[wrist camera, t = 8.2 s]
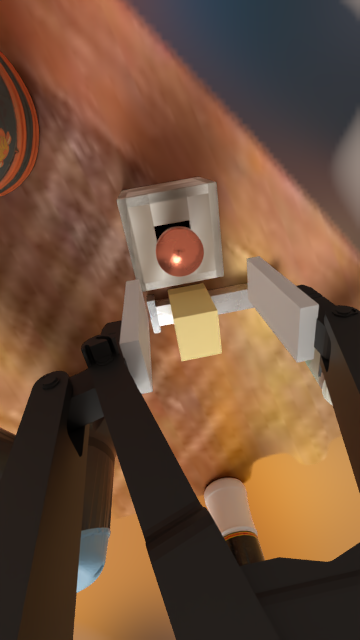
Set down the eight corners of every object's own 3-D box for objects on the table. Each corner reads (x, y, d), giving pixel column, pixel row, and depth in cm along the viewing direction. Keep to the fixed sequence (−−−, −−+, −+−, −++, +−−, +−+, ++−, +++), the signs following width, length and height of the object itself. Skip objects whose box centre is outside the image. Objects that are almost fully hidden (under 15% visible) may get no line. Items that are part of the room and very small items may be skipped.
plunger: (157, 261, 30) (161, 280, 25) (149, 221, 28) (151, 234, 23) (195, 254, 30) (206, 271, 25) (190, 214, 28) (200, 225, 23)
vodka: (241, 497, 67) (306, 709, 41) (202, 502, 67) (243, 723, 41) (245, 472, 63) (320, 693, 37) (203, 478, 62) (249, 708, 36)
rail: (153, 326, 42) (154, 333, 41) (146, 295, 40) (146, 301, 38) (272, 302, 43) (278, 308, 41) (272, 271, 41) (278, 276, 39)
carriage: (174, 326, 43) (181, 361, 35) (167, 289, 40) (173, 318, 32) (207, 319, 43) (221, 353, 35) (203, 282, 40) (217, 310, 32)
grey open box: (139, 264, 38) (139, 292, 30) (121, 190, 33) (116, 200, 25) (206, 252, 38) (224, 275, 30) (198, 176, 34) (216, 181, 26)
